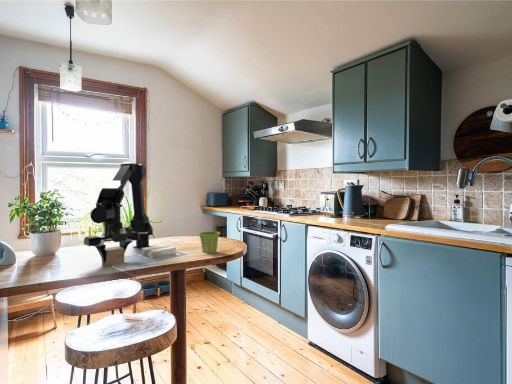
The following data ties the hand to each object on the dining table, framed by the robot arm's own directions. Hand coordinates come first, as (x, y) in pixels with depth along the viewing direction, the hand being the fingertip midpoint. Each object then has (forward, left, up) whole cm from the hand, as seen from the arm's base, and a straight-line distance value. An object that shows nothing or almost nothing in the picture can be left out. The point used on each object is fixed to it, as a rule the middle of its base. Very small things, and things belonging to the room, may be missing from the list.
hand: (113, 260), depth 118 cm
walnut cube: (0, 0, -1) cm, 1 cm away
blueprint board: (+2, +16, -1) cm, 16 cm away
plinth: (+2, +18, -1) cm, 18 cm away
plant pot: (+12, +37, -2) cm, 39 cm away
